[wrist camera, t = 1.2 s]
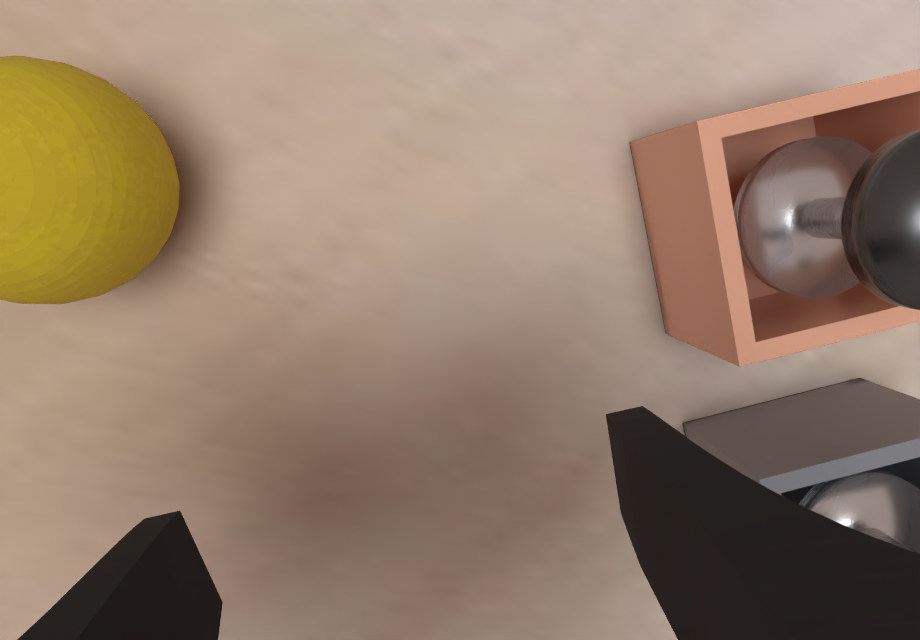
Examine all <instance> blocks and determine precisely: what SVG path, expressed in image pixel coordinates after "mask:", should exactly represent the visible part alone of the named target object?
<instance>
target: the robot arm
mask: <svg viewBox="0 0 920 640" xmlns="http://www.w3.org/2000/svg"><path fill="white" fill-rule="evenodd" d="M606 418H607V425H608V431H609V438H610V444H611V451H612V457H613V464H614V471H615V477H616V484H617V490H618V497H619V503H620V510H621V514H622V517H623V520H624V523H625V525H626V528H627V531H628V534H629V536H630V539H631V542H632V545H633V547H634V550H635V553H636V555H637V558H638V561H639V563H640V566H641V568H642V570H643V572H644V574H645V576H646V578H647V580H648V582H649V584H650V586H651V588H652V590H653V592H654V594H655V596H656V598H657V600H658V602H659V604H660V606H661V607H662V609H663V611H664V613H665V615H666V617H667V619H668V621H669V623H670V625H671V627H672V629H673V631H674V633H675V635H676V637H677V639H678V640H920V554H918V553H915V552H913V551H910V550H907V549H904V548H902V547H899V546H896V545H894V544H891V543H888V542H886V541H883V540H880V539H877V538H875V537H872V536H869V535H867V534H864V533H862V532H859V531H857V530H854V529H852V528H850V527H847V526H845V525H842V524H840V523H838V522H836V521H834V520H831V519H829V518H827V517H825V516H823V515H820V514H818V513H816V512H814V511H812V510H810V509H807V508H805V507H803V506H801V505H799V504H797V503H795V502H793V501H791V500H789V499H787V498H785V497H783V496H781V495H779V494H777V493H776V492H774V491H772V490H770V489H768V488H767V487H765V486H763V485H761V484H759V483H758V482H756V481H754V480H752V479H750V478H749V477H747V476H745V475H744V474H742V473H740V472H739V471H737V470H735V469H734V468H732V467H731V466H729V465H728V464H726V463H724V462H723V461H721V460H720V459H718V458H717V457H715V456H713V455H712V454H710V453H709V452H707V451H706V450H704V449H703V448H701V447H700V446H698V445H697V444H695V443H694V442H693V441H691V440H690V439H688V438H687V437H685V436H684V435H683V434H681V433H680V432H678V431H677V430H676V429H674V428H673V427H671V426H670V425H669V424H667V423H666V422H664V421H663V420H662V419H660V418H659V417H657V416H656V415H655V414H653V413H652V412H650V411H649V410H647V409H646V408H644V407H643V406H641V407H636V408H632V409H628V410H623V411H619V412H614V413H610V414H606ZM221 610H222V600H221V598H220V596H219V594H218V592H217V589H216V587H215V585H214V583H213V581H212V579H211V576H210V574H209V572H208V570H207V568H206V566H205V564H204V561H203V559H202V557H201V555H200V553H199V551H198V548H197V546H196V544H195V542H194V540H193V538H192V535H191V533H190V531H189V529H188V527H187V525H186V523H185V520H184V518H183V516H182V514H181V512H180V511H177V512H172V513H168V514H163V515H159V516H155V517H150V518H146V519H144V520H142V521H141V522H140V523H139V524H138V525H136V526H135V527H134V528H133V529H132V530H131V531H130V532H129V533H127V534H126V535H125V536H124V537H123V538H122V539H121V540H120V541H119V542H118V543H117V544H116V545H115V546H114V547H113V548H112V549H111V550H110V551H109V552H108V553H107V554H106V555H105V556H104V557H103V558H102V559H101V560H99V561H98V562H97V563H96V564H95V565H94V566H93V567H92V568H91V569H90V570H89V571H88V572H87V573H86V574H85V575H84V576H83V577H82V578H81V579H80V580H79V581H78V582H77V583H76V584H75V585H74V586H73V587H72V588H71V589H70V590H69V591H68V592H67V593H66V594H65V595H64V596H63V597H62V598H61V599H60V600H59V601H58V602H57V603H56V604H55V605H54V606H53V607H52V608H51V609H50V610H49V611H48V612H47V613H46V614H45V615H44V616H42V617H41V618H40V619H39V620H38V621H37V622H36V623H35V624H34V625H33V626H32V627H31V628H30V629H28V630H27V631H26V632H25V633H24V634H23V635H22V636H21V637H20V638H19V639H18V640H218V635H219V627H220V618H221Z"/></svg>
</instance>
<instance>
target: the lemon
mask: <svg viewBox="0 0 920 640" xmlns="http://www.w3.org/2000/svg"><path fill="white" fill-rule="evenodd" d="M178 209H179V179H178V175H177V171H176V166H175V162H174V157H173V155H172V153H171V151H170V149H169V147H168V145H167V143H166V141H165V139H164V137H163V135H162V133H161V131H160V129H159V128H158V127H157V126H156V125H155V123H154V122H153V121H152V120H151V119H150V117H149V116H148V115H147V114H146V113H145V111H144V110H143V109H142V108H141V107H140V105H139V104H137V103H136V102H135V101H134V100H132V99H131V98H130V97H128V96H127V95H125V94H124V93H123V92H121V91H120V90H119V89H117V88H116V87H115V86H113V85H112V84H111V83H109V82H108V81H106V80H104V79H102V78H100V77H97V76H95V75H93V74H90V73H88V72H86V71H83V70H81V69H79V68H76V67H74V66H71V65H68V64H65V63H61V62H55V61H49V60H43V59H37V58H31V57H25V56H6V57H0V299H1V300H5V301H9V302H13V303H21V304H64V303H70V302H74V301H79V300H83V299H87V298H91V297H96V296H99V295H102V294H105V293H107V292H109V291H111V290H112V289H114V288H116V287H118V286H120V285H122V284H124V283H126V282H128V281H130V280H132V279H133V278H135V277H136V276H137V275H138V274H139V273H140V272H141V271H142V270H143V269H144V268H145V267H147V266H148V265H149V264H150V263H151V262H152V261H153V260H154V259H155V258H156V257H157V256H158V254H159V252H160V251H161V249H162V248H163V246H164V244H165V243H166V241H167V240H168V238H169V236H170V235H171V232H172V229H173V225H174V222H175V219H176V216H177V212H178Z"/></svg>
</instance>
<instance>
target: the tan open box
mask: <svg viewBox="0 0 920 640" xmlns="http://www.w3.org/2000/svg"><path fill="white" fill-rule="evenodd" d="M919 128H920V69H917V70H913V71H909V72H904V73H900V74H896V75H892V76H887V77H883V78H879V79H874V80H870V81H866V82H862V83H857V84H853V85H849V86H845V87H840V88H836V89H832V90H828V91H823V92H819V93H815V94H810V95H806V96H802V97H798V98H793V99H789V100H785V101H781V102H776V103H772V104H768V105H764V106H759V107H755V108H751V109H746V110H742V111H738V112H734V113H729V114H725V115H721V116H717V117H712V118H708V119H704V120H700V121H696V122H692V123H689V124H686V125H683V126H680V127H676V128H673V129H670V130H667V131H663V132H660V133H657V134H654V135H651V136H647V137H644V138H641V139H638V140H634V141H631V142H630V146H631V152H632V157H633V162H634V168H635V173H636V178H637V183H638V189H639V194H640V199H641V205H642V210H643V215H644V220H645V226H646V231H647V236H648V242H649V247H650V252H651V257H652V263H653V268H654V273H655V279H656V284H657V289H658V294H659V300H660V305H661V310H662V316H663V321H664V326H665V331H666V334H668V335H671V336H673V337H675V338H677V339H679V340H682V341H684V342H686V343H688V344H691V345H693V346H695V347H697V348H699V349H702V350H704V351H706V352H708V353H711V354H713V355H715V356H717V357H719V358H722V359H724V360H726V361H728V362H731V363H733V364H735V365H737V366H739V367H740V366H744V365H748V364H752V363H756V362H760V361H764V360H768V359H772V358H776V357H780V356H784V355H788V354H792V353H796V352H800V351H804V350H808V349H812V348H816V347H820V346H824V345H828V344H832V343H836V342H840V341H843V340H847V339H851V338H855V337H859V336H863V335H867V334H871V333H875V332H879V331H883V330H887V329H891V328H895V327H899V326H903V325H907V324H911V323H915V322H919V321H920V310H916V309H910V308H905V307H901V306H897V305H893V304H891V303H888V302H886V301H884V300H882V299H880V298H879V297H877V296H875V295H874V294H873V293H872V292H870V291H869V290H868V289H867V288H866V287H865V286H864V285H863V284H862V283H861V282H860V283H859V284H857V285H855V286H854V287H852V288H850V289H848V290H846V291H844V292H842V293H839V294H835V295H832V296H826V297H814V298H812V297H803V296H798V295H793V294H788V293H784V292H780V291H778V290H775V289H773V288H771V287H769V286H767V285H766V284H764V283H763V282H761V281H760V280H759V279H758V278H756V277H755V276H754V274H753V273H752V272H751V271H750V270H749V269H748V267H747V266H746V265H745V263H744V261H743V260H742V258H741V252H740V246H739V240H738V234H737V228H736V222H735V216H734V207H735V203H736V199H737V195H738V193H739V190H740V188H741V186H742V184H743V182H744V180H745V178H746V177H747V175H748V174H749V172H750V171H751V170H752V168H753V167H754V166H755V165H756V164H757V163H758V162H759V161H760V160H761V159H762V158H763V157H765V156H766V155H767V154H768V153H770V152H771V151H773V150H775V149H776V148H778V147H780V146H782V145H784V144H787V143H790V142H793V141H797V140H802V139H807V138H813V137H819V136H832V137H840V138H844V139H848V140H850V141H853V142H855V143H858V144H859V145H861V146H863V147H864V148H866V149H867V150H869V151H870V152H871V153H873V152H874V151H876V150H877V149H878V148H879V147H881V146H882V145H883V144H884V143H886V142H888V141H889V140H891V139H892V138H894V137H896V136H898V135H900V134H903V133H905V132H908V131H911V130H915V129H919Z"/></svg>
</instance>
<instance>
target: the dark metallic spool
mask: <svg viewBox="0 0 920 640" xmlns="http://www.w3.org/2000/svg"><path fill="white" fill-rule="evenodd" d="M734 216H735V222H736V228H737V234H738V240H739V246H740V252H741V258H742V260H743V261H744V263H745V265H746V266H747V267H748V269H749V270H750V271H751V272H752V273H753V274H754V276H755V277H756V278H758V279H759V280H760V281H761V282H763V283H764V284H766V285H767V286H769V287H771V288H773V289H775V290H778V291H780V292H784V293H788V294H793V295H798V296H803V297H812V298H814V297H826V296H832V295H835V294H839V293H842V292H844V291H846V290H848V289H850V288H852V287H854V286H855V285H857V284H859V283H860V282H861V283H862V284H863V285H864V286H865V287H866V288H867V289H868V290H869V291H870V292H872V293H873V294H874V295H875V296H877V297H879V298H880V299H882V300H884V301H886V302H888V303H891V304H893V305H897V306H901V307H905V308H910V309H916V310H920V128H919V129H915V130H911V131H908V132H905V133H903V134H900V135H898V136H896V137H894V138H892V139H891V140H889V141H888V142H886V143H884V144H883V145H882V146H881V147H879V148H878V149H877V150H876V151H874V152H873V153H871V152H870V151H869V150H867V149H866V148H864V147H863V146H861V145H859V144H858V143H855V142H853V141H850V140H848V139H844V138H840V137H832V136H819V137H813V138H807V139H802V140H797V141H793V142H790V143H787V144H784V145H782V146H780V147H778V148H776V149H775V150H773V151H771V152H770V153H768V154H767V155H766V156H765V157H763V158H762V159H761V160H760V161H759V162H758V163H757V164H756V165H755V166H754V167H753V168H752V170H751V171H750V172H749V174H748V175H747V177H746V178H745V180H744V182H743V184H742V186H741V188H740V190H739V193H738V195H737V199H736V203H735V207H734Z"/></svg>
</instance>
